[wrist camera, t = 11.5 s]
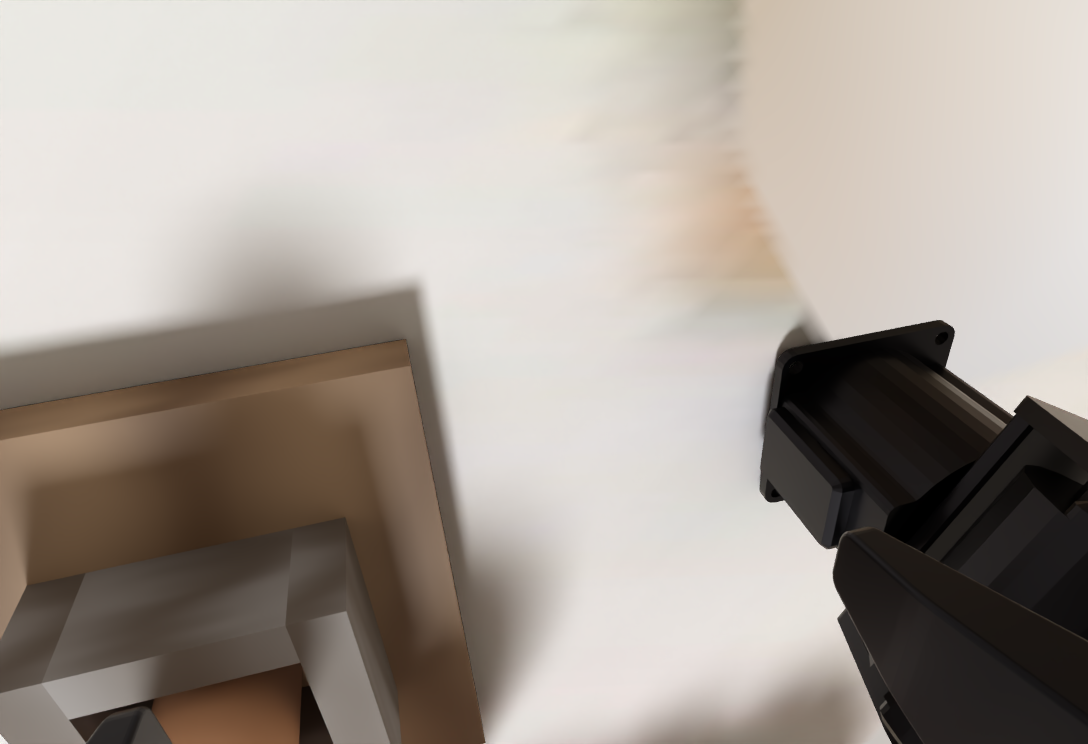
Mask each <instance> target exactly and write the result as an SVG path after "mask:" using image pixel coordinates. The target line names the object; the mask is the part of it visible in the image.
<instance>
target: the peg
mask: <svg viewBox="0 0 1088 744" xmlns="http://www.w3.org/2000/svg"><path fill="white" fill-rule="evenodd" d="M302 671H303V668H302V665H301V663H297V664H293V665H289V666H285V667H281V668H277V669H273V670H269V671H265V672H260V673H256V674H252V675H248V676H244V677H240V678H236V679H232V680H228V681H224V682H220V683H216V684H212V685H208V686H204V687H200V688H196V689H192V690H187V691H183V692H179V693H175V694H171V695H167V696H163V697H159V698H155V699H154V701H153V705H152V709H151V710H152V712H153V713H154V715H155V716H156V718H157V719H158V721H159V722H160V724H161V726H162V727H163V729H164V730H165V732H166V734H167V735H168V737H169V738H170V740H171V742H172V744H299V735H300V713H301V692H302Z"/></svg>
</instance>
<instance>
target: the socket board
mask: <svg viewBox="0 0 1088 744" xmlns="http://www.w3.org/2000/svg"><path fill="white" fill-rule="evenodd" d="M297 663H301V665H302V668H303V671H302V692H301V713H300V735H299V744H483V743H485V737H484V732H483V726H482V721H481V715H480V710H479V705H478V700H477V695H476V690H475V685H474V680H473V675H472V669H471V664H470V659H469V654H468V649H467V644H466V639H465V634H464V629H463V624H462V619H461V614H460V609H459V604H458V599H457V594H456V589H455V584H454V579H453V574H452V569H451V564H450V559H449V554H448V549H447V544H446V539H445V534H444V529H443V524H442V519H441V514H440V509H439V504H438V499H437V494H436V489H435V484H434V479H433V474H432V468H431V463H430V458H429V453H428V448H427V443H426V438H425V433H424V428H423V423H422V418H421V413H420V408H419V403H418V398H417V393H416V388H415V383H414V378H413V373H412V368H411V363H410V358H409V353H408V348H407V343H406V339H403V340H398V341H392V342H386V343H380V344H375V345H369V346H363V347H358V348H352V349H346V350H341V351H335V352H329V353H323V354H318V355H312V356H306V357H301V358H295V359H289V360H284V361H278V362H272V363H266V364H261V365H255V366H249V367H244V368H238V369H232V370H227V371H221V372H215V373H209V374H204V375H198V376H192V377H187V378H181V379H175V380H170V381H164V382H158V383H153V384H147V385H141V386H135V387H130V388H124V389H118V390H113V391H107V392H101V393H96V394H90V395H84V396H78V397H73V398H67V399H61V400H56V401H50V402H44V403H39V404H33V405H27V406H21V407H16V408H10V409H4V410H0V734H1V735H2V736H3V738H4V739H5V740H6V741H7V742H8V743H9V744H85V743H86V742H87V741H88V739H89V738H90V737H91V735H92V734H93V733H94V731H95V730H96V729H97V727H98V726H99V725H100V724H101V722H102V721H103V720H104V719H105V718H106V717H108V716H109V715H111V714H113V713H115V712H119V711H124V710H128V709H132V708H136V707H140V706H145V707H148V708H150V709H152V705H153V701H154V699H155V698H159V697H163V696H167V695H171V694H175V693H179V692H183V691H187V690H192V689H196V688H200V687H204V686H208V685H212V684H216V683H220V682H224V681H228V680H232V679H236V678H240V677H244V676H248V675H252V674H256V673H260V672H265V671H269V670H273V669H277V668H281V667H285V666H289V665H293V664H297Z"/></svg>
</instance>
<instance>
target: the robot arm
mask: <svg viewBox="0 0 1088 744" xmlns="http://www.w3.org/2000/svg"><path fill="white" fill-rule="evenodd" d="M954 333H955V331H954V328H953V327H951V326H950V325H948V324H947V323H945V322H943V321H942V320H936V321H931V322H926V323H920V324H915V325H911V326H905V327H900V328H895V329H890V330H885V331H880V332H874V333H869V334H864V335H859V336H854V337H849V338H844V339H839V340H834V341H828V342H823V343H818V344H813V345H808V346H803V347H798V348H793V349H789V350H787V351H785V352H784V353H782V354H781V355H780V357H779V358H778V360H777V363H776V368H775V375H774V383H773V390H772V398H771V405H770V411H769V413H768V415H767V420H766V427H765V435H764V443H763V450H762V458H761V466H760V469H761V471H762V474H761V481H760V492H761V494H762V495H763V496H764V498H765V499H766V500H767V501H768V502H771V503H772V502H779V501H783V500H785V501H786V503H787V504H788V505H789V506H790V508H791V509H792V510H793V511H794V513H795V514H796V515H797V517H798V518H799V519H800V520H801V522H802V523H803V524H804V525H805V527H806V528H807V529H808V530H809V532H810V533H811V534H812V535H813V537H814V538H815V539H816V541H817V542H818V543H819V544H820V545H821V546H823V547H824V548H826V549H832V548H837V549H838V550H837V554H836V559H835V563H834V568H833V581H834V585H835V588H836V590H837V592H838V594H839V596H840V598H841V600H842V602H843V604H844V605H845V607H846V609H845V610H844V611H843V612H842V613H841V614H840V616H839V617H838V618H837V619H838V622H839V624H840V627H841V629H842V631H843V634H844V636H845V638H846V641H847V643H848V645H849V648H850V650H851V652H852V655H853V657H854V659H855V662H856V664H857V666H858V669H859V671H860V673H861V676H862V678H863V680H864V683H865V685H866V687H867V690H868V692H869V694H870V697H871V699H872V701H873V704H874V706H875V708H876V711H877V713H878V715H879V718H880V720H881V722H882V725H883V727H884V729H885V731H886V733H887V735H888V737H889V739H890V741H891V743H892V744H1088V420H1087V419H1084V418H1082V417H1079V416H1077V415H1075V414H1072V413H1070V412H1067V411H1065V410H1062V409H1060V408H1058V407H1055V406H1053V405H1050V404H1048V403H1045V402H1043V401H1041V400H1038V399H1036V398H1033V397H1031V396H1028V395H1027V396H1026V397H1025V398H1024V399H1023V401H1022V402H1021V403H1020V404H1019V405H1018V406H1017V408H1016V409H1015V410H1014V412H1015V413H1016V415H1015V416H1012V415H1011V414H1009V413H1008V412H1007V411H1005V410H1004V409H1002V408H1001V407H1000V406H998V405H997V404H995V403H994V402H992V401H991V400H990V399H988V398H987V397H985V396H984V395H983V394H981V393H980V392H978V391H977V390H976V389H974V388H973V387H971V386H970V385H969V384H967V383H966V382H964V381H963V380H962V379H960V378H959V377H957V376H956V375H954V374H953V373H952V372H950V371H949V370H947V369H946V368H945V367H946V363H947V360H948V356H949V352H950V349H951V346H952V342H953V339H954ZM793 362H796V363H795V364H794V365H793V366H792V367H790V365H791V364H792V363H793ZM789 367H790V368H789ZM85 744H172V742H171V740H170V738H169V737H168V735H167V734H166V732H165V730H164V729H163V727H162V726H161V724H160V722H159V721H158V719H157V718H156V716H155V715H154V713H153V712H152V710H151V709H150V708H148V707H145V706H140V707H136V708H132V709H128V710H124V711H119V712H115V713H113V714H111V715H109V716H108V717H106V718H105V719H104V720H103V721H102V722H101V724H100V725H99V726H98V727H97V729H96V730H95V731H94V733H93V734H92V735H91V737H90V738H89V739H88V741H87V742H86V743H85Z"/></svg>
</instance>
